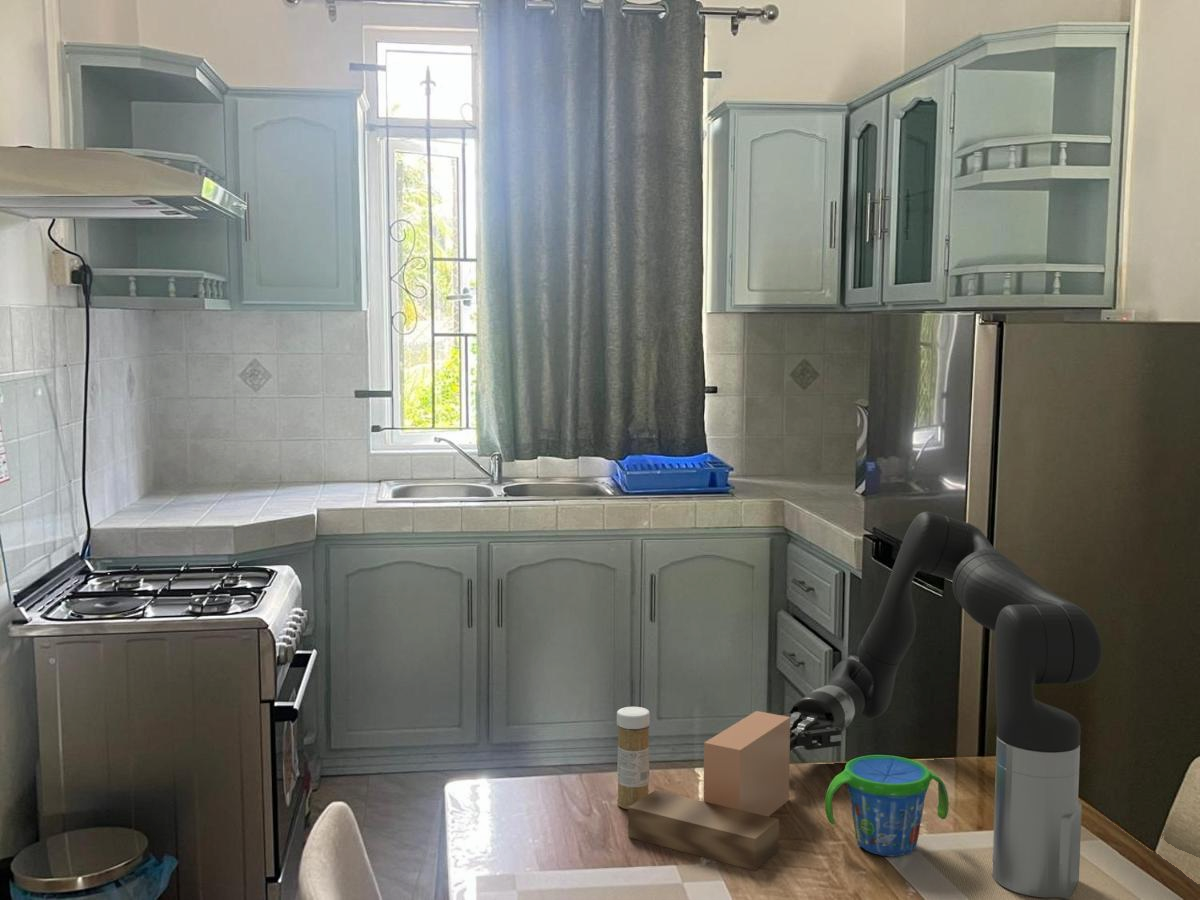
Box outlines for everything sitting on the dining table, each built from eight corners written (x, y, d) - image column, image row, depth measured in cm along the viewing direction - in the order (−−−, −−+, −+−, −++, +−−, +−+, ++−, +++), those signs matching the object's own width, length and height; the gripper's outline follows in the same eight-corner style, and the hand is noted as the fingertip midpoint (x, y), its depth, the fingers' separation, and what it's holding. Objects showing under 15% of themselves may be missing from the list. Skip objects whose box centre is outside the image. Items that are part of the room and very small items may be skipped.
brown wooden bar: (778, 849, 145) (779, 819, 144) (755, 870, 139) (755, 838, 139) (655, 818, 154) (655, 790, 154) (628, 837, 149) (628, 807, 148)
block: (788, 800, 161) (790, 717, 160) (739, 840, 148) (740, 750, 147) (755, 792, 164) (756, 710, 163) (703, 831, 151) (704, 742, 150)
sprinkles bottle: (634, 796, 162) (635, 703, 161) (656, 805, 159) (656, 711, 158) (609, 804, 160) (610, 709, 158) (631, 814, 156) (631, 717, 155)
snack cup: (832, 864, 141) (833, 783, 140) (817, 828, 151) (818, 753, 150) (959, 864, 141) (961, 784, 140) (935, 829, 151) (937, 754, 150)
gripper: (783, 684, 181) (735, 713, 167) (864, 697, 174) (821, 729, 160) (783, 730, 182) (735, 763, 167) (863, 745, 175) (820, 782, 160)
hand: (777, 747), depth 164 cm, fingers closed
